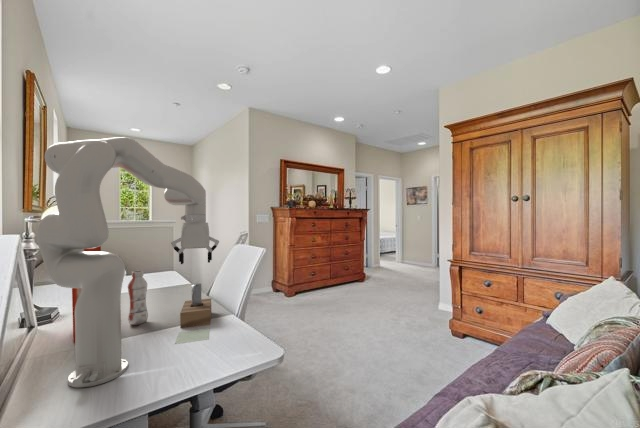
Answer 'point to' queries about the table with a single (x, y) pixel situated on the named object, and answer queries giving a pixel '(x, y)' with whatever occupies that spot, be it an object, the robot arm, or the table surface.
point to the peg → (196, 295)
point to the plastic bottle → (137, 299)
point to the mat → (192, 336)
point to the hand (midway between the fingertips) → (195, 262)
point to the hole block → (195, 314)
